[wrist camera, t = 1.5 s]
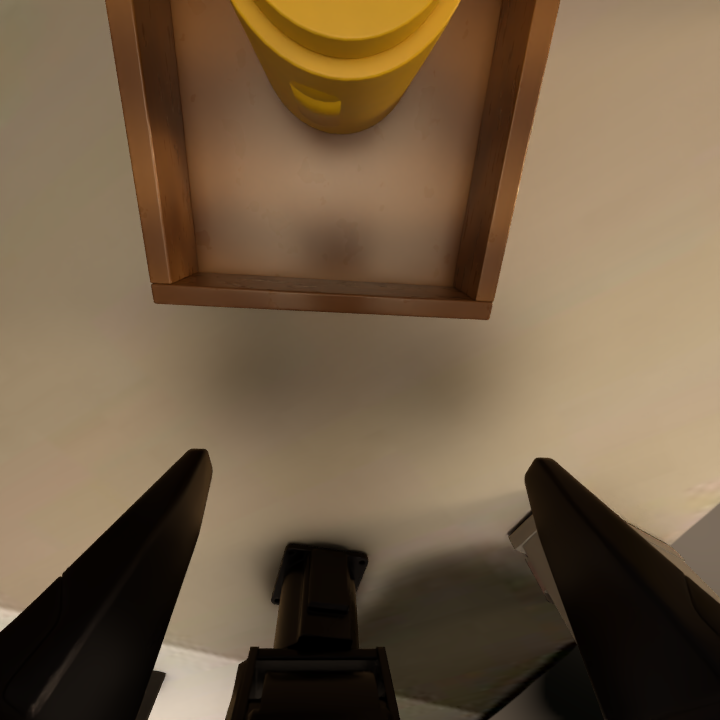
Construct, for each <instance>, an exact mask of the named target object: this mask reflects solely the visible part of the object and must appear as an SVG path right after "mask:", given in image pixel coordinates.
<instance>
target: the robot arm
mask: <svg viewBox="0 0 720 720" xmlns="http://www.w3.org/2000/svg"><path fill="white" fill-rule="evenodd" d="M212 472H213V470H212V465H211V461H210V457H209V453H208V451H207V450H206V449H190V450H188V451H187V452H186V453H185V454H184V455H183V456H182V457H181V458H180V459H179V460H178V461H177V462H176V463H175V464H174V465H173V466H172V467H171V468H170V469H169V470H168V471H167V472H166V473H165V474H164V475H163V476H162V477H161V478H160V479H159V480H158V481H156V482H155V483H154V484H153V485H152V486H151V487H150V488H149V489H148V490H147V491H146V492H145V493H144V494H143V495H142V496H141V497H140V498H139V499H138V500H137V501H136V502H135V503H134V504H133V505H132V506H131V507H130V508H129V509H128V510H127V511H126V512H125V513H124V514H123V515H122V516H121V517H120V518H119V519H118V520H117V521H116V522H115V523H114V524H113V525H112V526H111V527H110V528H108V529H107V530H106V531H105V532H104V533H103V534H102V535H101V536H100V537H99V538H98V539H97V540H96V541H95V542H94V543H93V544H92V545H91V546H90V547H89V548H88V549H87V550H86V551H85V552H84V553H83V554H82V555H81V556H80V557H79V558H78V559H77V560H76V561H75V562H74V563H73V564H72V565H71V566H70V567H69V568H68V569H67V570H66V571H65V572H64V573H63V574H62V577H58V578H57V579H56V580H55V581H54V582H53V583H52V584H51V585H50V586H49V587H48V588H47V589H46V590H45V591H44V592H43V593H42V594H41V595H40V596H39V597H38V598H37V599H36V600H35V601H33V602H32V603H31V604H30V605H29V606H28V607H27V608H26V609H25V610H24V611H23V612H22V613H21V614H20V615H19V616H18V617H17V618H15V619H14V620H13V621H12V622H11V623H10V624H9V625H8V626H7V627H5V628H4V629H3V630H2V631H1V632H0V720H136V718H137V715H138V712H139V709H140V706H141V704H142V701H143V698H144V695H145V692H146V689H147V686H148V683H149V680H150V677H151V674H152V671H153V668H154V665H155V662H156V660H157V657H158V654H159V651H160V648H161V645H162V642H163V639H164V636H165V633H166V630H167V627H168V624H169V621H170V618H171V615H172V613H173V610H174V607H175V604H176V601H177V598H178V595H179V592H180V589H181V586H182V583H183V580H184V577H185V574H186V571H187V569H188V566H189V563H190V560H191V557H192V554H193V551H194V548H195V545H196V542H197V539H198V536H199V532H200V528H201V524H202V519H203V515H204V510H205V506H206V501H207V497H208V492H209V488H210V483H211V479H212ZM525 486H526V490H527V494H528V498H529V501H530V505H531V509H532V513H533V517H534V521H535V525H536V529H537V533H538V536H539V539H540V542H541V545H542V548H543V550H544V553H545V556H546V559H547V562H548V564H549V567H550V570H551V573H552V575H553V578H554V581H555V584H556V586H557V589H558V592H559V595H560V598H561V600H562V603H563V606H564V609H565V611H566V614H567V617H568V620H569V622H570V625H571V628H572V631H573V634H574V636H575V639H576V642H577V645H578V647H579V650H580V653H581V655H582V658H583V661H584V664H585V667H586V669H587V672H588V675H589V678H590V681H591V683H592V686H593V689H594V691H595V694H596V697H597V700H598V702H599V705H600V708H601V711H602V714H603V717H604V719H605V720H720V603H719V602H717V601H716V600H715V599H714V598H713V597H712V596H710V595H709V594H708V593H707V592H706V591H704V590H703V589H702V588H701V587H700V586H699V585H697V584H696V583H695V582H694V581H693V580H692V579H691V578H689V577H688V576H687V575H684V573H683V572H682V571H681V570H680V569H679V568H678V567H677V566H675V565H674V564H673V563H672V562H671V561H670V560H669V559H667V558H666V557H665V556H664V555H663V554H662V553H660V552H659V551H658V550H657V549H656V548H655V547H654V546H652V545H651V544H650V543H649V542H648V541H647V540H645V539H644V538H643V537H642V536H641V535H640V534H639V533H637V532H636V531H635V530H634V529H633V528H632V527H630V526H629V525H628V524H627V523H626V522H625V521H624V520H622V519H621V518H620V517H619V516H618V515H617V514H615V513H614V512H613V511H612V510H611V509H610V508H609V507H607V506H606V505H605V504H604V503H603V502H602V501H600V500H599V499H598V498H597V497H596V496H595V495H594V494H592V493H591V492H590V491H589V490H588V489H587V488H586V487H584V486H583V485H582V484H581V483H580V482H579V481H577V480H576V479H575V478H574V477H573V476H572V475H571V474H569V473H568V472H567V471H566V470H565V469H564V468H562V467H561V466H560V465H559V464H558V463H557V462H556V461H554V460H553V459H551V458H536V459H535V460H534V461H533V462H532V464H531V466H530V467H529V469H528V471H527V472H526V474H525ZM367 565H368V557H367V555H366V554H363V553H356V552H348V551H341V550H334V549H327V548H319V547H312V546H305V545H298V544H289V545H287V546H286V548H285V551H284V555H283V558H282V562H281V565H280V569H279V572H278V576H277V579H276V583H275V586H274V590H273V593H272V599H271V602H272V603H273V604H276V605H279V610H278V618H277V625H276V633H275V640H274V647H273V648H259V647H250V651H249V656H248V658H247V660H246V661H244V662H242V663H240V664H239V665H238V670H237V675H236V680H235V685H234V689H233V694H232V698H231V701H230V705H229V708H228V711H227V715H226V718H225V720H400V717H399V711H398V707H397V702H396V697H395V693H394V688H393V683H392V679H391V674H390V669H389V665H388V660H387V656H386V651H385V647H376V649H359V640H358V624H357V607H356V591H357V589H358V586H359V584H360V581H361V579H362V577H363V574H364V572H365V569H366V567H367Z"/></svg>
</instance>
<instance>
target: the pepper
mask: <svg viewBox="0 0 720 720" xmlns="http://www.w3.org/2000/svg"><path fill="white" fill-rule="evenodd" d="M460 1H461V0H230V2H231V4H232V6H233V8H234V10H235V13H236V15H237V17H238V19H239V21H240V23H241V25H242V27H243V29H244V31H245V33H246V35H247V37H248V39H249V41H250V43H251V45H252V47H253V49H254V51H255V53H256V55H257V57H258V59H259V61H260V63H261V65H262V67H263V69H264V71H265V73H266V75H267V78H268V80H269V82H270V84H271V86H272V87H273V89H274V91H275V92H276V94H277V96H278V97H279V99H280V100H281V101H282V102H283V104H284V105H285V106H286V107H287V108H288V109H289V110H290V111H291V113H292V114H293V115H295V116H296V117H297V118H298V119H300V120H301V121H302V122H304V123H306V124H307V125H309V126H311V127H313V128H315V129H318V130H320V131H323V132H327V133H332V134H351V133H356V132H360V131H363V130H365V129H368V128H370V127H372V126H374V125H375V124H377V123H378V122H380V121H381V120H382V119H384V118H385V117H386V116H387V115H388V114H389V113H390V112H391V111H392V110H393V109H394V107H395V106H396V105H397V104H398V102H399V101H400V99H401V98H402V96H403V94H404V93H405V91H406V90H407V88H408V86H409V85H410V83H411V81H412V80H413V78H414V77H415V75H416V74H417V73H418V71H419V69H420V68H421V66H422V65H423V63H424V61H425V60H426V58H427V57H428V55H429V53H430V52H431V50H432V49H433V47H434V45H435V44H436V42H437V41H438V39H439V37H440V36H441V34H442V32H443V31H444V29H445V28H446V26H447V24H448V23H449V21H450V19H451V17H452V15H453V13H454V12H455V10H456V9H457V7H458V5H459V3H460Z"/></svg>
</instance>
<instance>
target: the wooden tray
mask: <svg viewBox="0 0 720 720" xmlns="http://www.w3.org/2000/svg"><path fill="white" fill-rule="evenodd" d="M105 2H106V8H107V14H108V21H109V27H110V33H111V39H112V46H113V52H114V58H115V64H116V71H117V77H118V83H119V89H120V95H121V102H122V108H123V114H124V120H125V127H126V133H127V139H128V145H129V152H130V158H131V164H132V170H133V176H134V183H135V189H136V195H137V201H138V208H139V214H140V220H141V226H142V233H143V239H144V245H145V251H146V257H147V264H148V270H149V276H150V282H151V283H153V284H152V285H151V287H152V294H153V300H154V303H156V304H173V305H193V306H214V307H234V308H254V309H275V310H295V311H315V312H336V313H356V314H376V315H397V316H417V317H437V318H458V319H478V320H489V318H490V313H491V309H492V302H493V301H494V297H495V292H496V288H497V283H498V279H499V274H500V270H501V265H502V261H503V256H504V252H505V247H506V243H507V238H508V234H509V229H510V225H511V220H512V216H513V211H514V207H515V202H516V198H517V193H518V189H519V184H520V180H521V175H522V171H523V166H524V162H525V157H526V153H527V148H528V143H529V139H530V134H531V130H532V125H533V121H534V116H535V112H536V107H537V103H538V98H539V94H540V89H541V85H542V80H543V76H544V71H545V67H546V62H547V58H548V53H549V49H550V44H551V40H552V35H553V31H554V26H555V22H556V17H557V13H558V8H559V4H560V0H461V1H460V3H459V5H458V7H457V9H456V10H455V12H454V13H453V15H452V17H451V19H450V21H449V23H448V24H447V26H446V28H445V29H444V31H443V32H442V34H441V36H440V37H439V39H438V41H437V42H436V44H435V45H434V47H433V49H432V50H431V52H430V53H429V55H428V57H427V58H426V60H425V61H424V63H423V65H422V66H421V68H420V69H419V71H418V73H417V74H416V75H415V77H414V78H413V80H412V81H411V83H410V85H409V86H408V88H407V90H406V91H405V93H404V94H403V96H402V98H401V99H400V101H399V102H398V104H397V105H396V106H395V107H394V109H393V110H392V111H391V112H390V113H389V114H388V115H387V116H386V117H385V118H384V119H382V120H381V121H380V122H378V123H377V124H375V125H374V126H372V127H370V128H368V129H365V130H363V131H360V132H356V133H351V134H332V133H327V132H323V131H320V130H318V129H315V128H313V127H311V126H309V125H307V124H306V123H304V122H302V121H301V120H300V119H298V118H297V117H296V116H295V115H293V114H292V113H291V111H290V110H289V109H288V108H287V107H286V106H285V105H284V104H283V102H282V101H281V100H280V99H279V97H278V96H277V94H276V92H275V91H274V89H273V87H272V86H271V84H270V82H269V80H268V78H267V75H266V73H265V71H264V69H263V67H262V65H261V63H260V61H259V59H258V57H257V55H256V53H255V51H254V49H253V47H252V45H251V43H250V41H249V39H248V37H247V35H246V33H245V31H244V29H243V27H242V25H241V23H240V21H239V19H238V17H237V15H236V13H235V10H234V8H233V6H232V4H231V2H230V0H105Z"/></svg>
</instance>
